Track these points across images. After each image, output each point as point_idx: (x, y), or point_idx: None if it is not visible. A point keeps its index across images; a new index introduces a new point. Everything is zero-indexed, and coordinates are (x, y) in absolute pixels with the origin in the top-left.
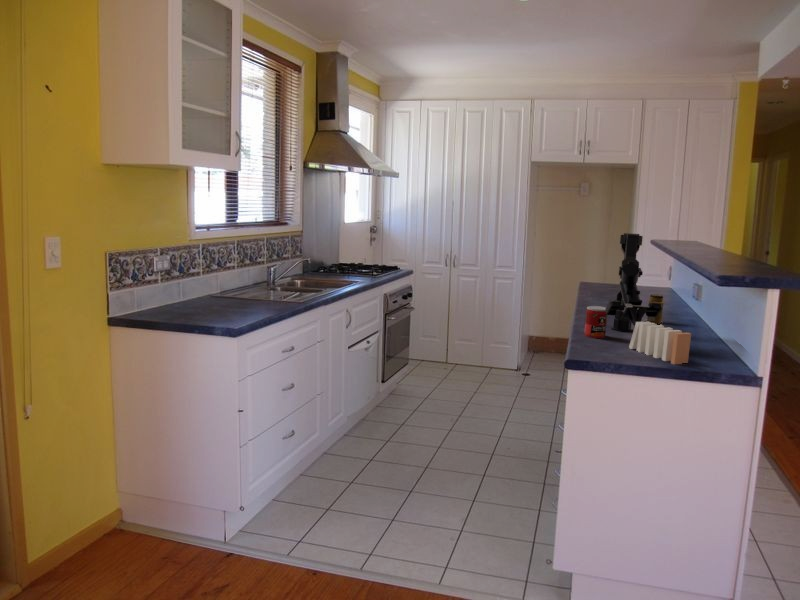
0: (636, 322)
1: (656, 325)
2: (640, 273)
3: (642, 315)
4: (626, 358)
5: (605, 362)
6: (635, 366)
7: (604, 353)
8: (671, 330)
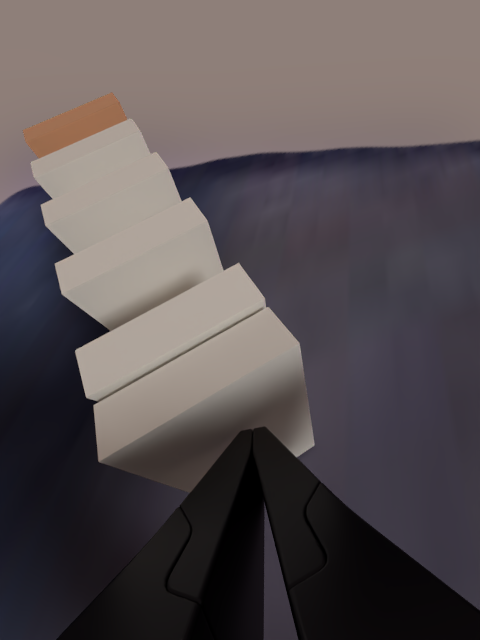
0: (294, 338)
1: (119, 255)
2: None
3: (136, 556)
4: (337, 233)
5: (416, 159)
6: (312, 158)
7: (444, 276)
8: (94, 147)
